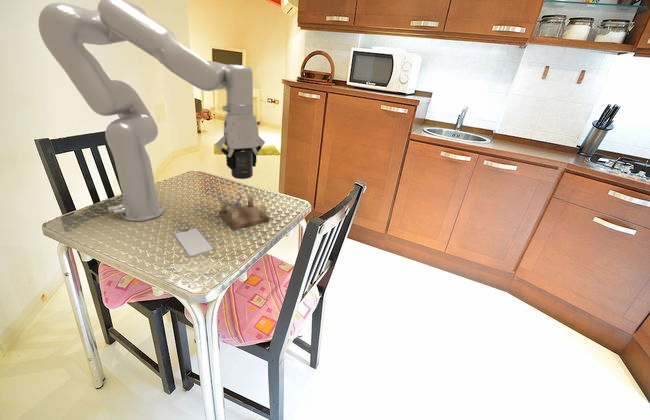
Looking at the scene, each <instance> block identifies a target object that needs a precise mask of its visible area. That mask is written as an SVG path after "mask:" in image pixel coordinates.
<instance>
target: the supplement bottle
mask: <svg viewBox="0 0 650 420" xmlns="http://www.w3.org/2000/svg"><path fill="white" fill-rule="evenodd" d="M232 157H233V160H234V169H230V171H231V176H232V178H233V179H239V180H246V179H247V180H248V179H250V178H252V177H253V175H254V166H253V152H252V150H251V149H250V148H248V149H234V151H233V154H232Z"/></svg>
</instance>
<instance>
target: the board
mask: <svg viewBox="0 0 650 420" xmlns="http://www.w3.org/2000/svg"><path fill="white" fill-rule="evenodd" d="M227 202H228V200H226V199H222V201H220V209H221V210H218V216H219V217H221V218H222V219H223V221H224V222H225V224H227V225H228V226H229V227H230V228H231V229H232V230H233V231H236V230H240V229H244V228H248V227H251V226H256V225H260V224H263V223H268V222H270V217H269V216H268V215H267V205H264V204H262V205H260V207H259V208H258V207H257V206H256V205H254V195H250V194H249V195H247V204H244V205H240V206H239V207H234V208H231V207H230V208H228V204H227Z"/></svg>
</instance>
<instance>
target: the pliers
mask: <svg viewBox="0 0 650 420" xmlns="http://www.w3.org/2000/svg"><path fill="white" fill-rule="evenodd" d="M236 193H237V195H238V196H239V197H238V199H236V201H235V203H232V202H229V201H227V205H229V207H230V208H234V207H239V206H241V204H240V202H241V200H242V194H241V193H240V192H236ZM216 199H218V201H220V202H221V201H222V200H223V199H221V198H220V197H219V194H216Z"/></svg>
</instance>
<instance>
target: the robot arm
mask: <svg viewBox="0 0 650 420" xmlns="http://www.w3.org/2000/svg"><path fill="white" fill-rule="evenodd" d="M38 31H39V34H40V38H41V40H42V42H43V44H44V46H45V47H46V49H47V50H48V51H49V53H50V54H51V56H52V57H53V58H54V59H55V60H56V62H57V63H58V64H59V65H60V67H61V69H63V70H64V72H65V73H66V75H67V76H68V79H70V81H71V83H72V84H73V85H74V87H75V88H76V89H77V90H78V91H77V92H78V93H79V94H80V95H81V97H82V98H83V100H84V101H85V102H86V104H87V105H88V107H90V109H91V110H92V111H93V112H94V114H95V113H96V114H97V115H100V116H103V117H110V116H116V115H117V116H118V117H119V118H116V119H115V120H112V121H111V122H110V123H109V124H108V125H107V127H106V128H105V133H104V134H105V140H106V143H107V145H108V147H109V149H110V152H111V154H112V157H113V160H114V163H115V168H116V172H117V176H118V182H119V186H120V189H121V194H122V199H123V200H122V201H121V203H118V205H109V206H107V210H108V213H113V214H114V215H116V214H120V216H121V218H122V219H123V220H126V221H129V222H143V221H149V220H153V219H155V218H158V217H160V216H162V214H163V213H164V211H165V208H164V206H163V205H162V204H160V203H158V196H157V190H156V186H155V178H154V173H153V168H152V163H151V158H150V156H149V153H148V151H147V150H146V147H145V146H146V145H149V144H150V143H152V142H153V141H156V138H157V137H158V135H159V134H158V133H159V129H158V125H157V123H156V121H155V119H154V118H153V116H152V114H151V113H150V111H149V109H148V108H147V106H146V105H145V103H144V101H143V99H142V98H141V97H140V95H139V94H138V92H137V91H136V90H135V89H134V88H133V87H132V85H130V84H129V83H126V82H125V81H122V80H118V79H111V78H110V77H109V75H108V74H107V73H106V71H105V70H104V68H103V66H102V65H101V63H100V62H99V61H98V59H97V58H96V57H95V56H94V55H93V54H92V53H91V52H90V51H89V50H88V49H87V48H86V47H85V46H84V44H88V45H96V46H105V45H112V44H117V43H123V42H129V43H130V44H132V45H134V46H136V47H137V48H138V49H140V50H142V51H143V52H145V53H146V54H147V55H149V56H152V57H153V58H154V59H156V60H157V61H158V62H159V63H160V64H162V65H163V66H164V67H165V68H166V69H168V70H169V72H172V74H174V75H176V76H177V77H179V78H180V79H182V80H183V81H185V82H187V83H189V84H190V85H192V86H193V87H195V88H197V89H200V90H201V91H205V92H212V91H218V90H226V91H225V92H226V94H225V95H226V104H225V105H222V110H223V111H224V112H226V114H225V115H224V121H223V122H224V123H223V136H222V137H221V138H220V139H219V140H217V142H216V143H215V144H214V145H215V146H216V147H217V149H218V150H220V152H222V154H224V155H225V158H226V167H228V168H229V169H230V170H231V169H234V160H233V157H232V154H233V151H234V149H248V148H250V149H251V150H252V152H253V168H254V167H256V165H257V155H258V154H259V152H260V151H261V149H262V147H264V145H265V143H266V142H265V140H264V139H263V138H262V137H260V135H259V127H258V126H259V125H258V119H257V116H256V115H255V114H254V100H253V99H254V94H253V93H254V92H253V91H254V90H253V89H254V88H253V85H254V84H253V70H252V68H251V67H250V66H249V65H241V64H225V63H221V62H217V61H211V60H206V59H204V58H203V57H202V56H200V55H198V54H197V53H195V52H194V51H192V50H191V49H189V48H188V47H186V46H184V45H183V44H182V43H181V42H180V41H179V40H178V39H177V38H176V36H175V34H174V32H172V31H171V29H169V28H168V27H166V26H164V25H163V24H161V23H160V22H158V21H156V20H155V19H153V18H152V17H150V16H149V15H148V14H147V13H146V11H145V10H144V9H143V8H142V7H141V6H139V5H138V4H136V3H133V1H132V2H131V1H129V0H100V1H99V2H98V5H97V9H95V10H91V9H87V8H84V7H81V6H78V5H74V4H70V3H65V2H54V3H49V4H47V5H46V6H44V7H43V8H42V10H41V11H40V13H39V17H38ZM224 146H226V148H225V147H224Z"/></svg>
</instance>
